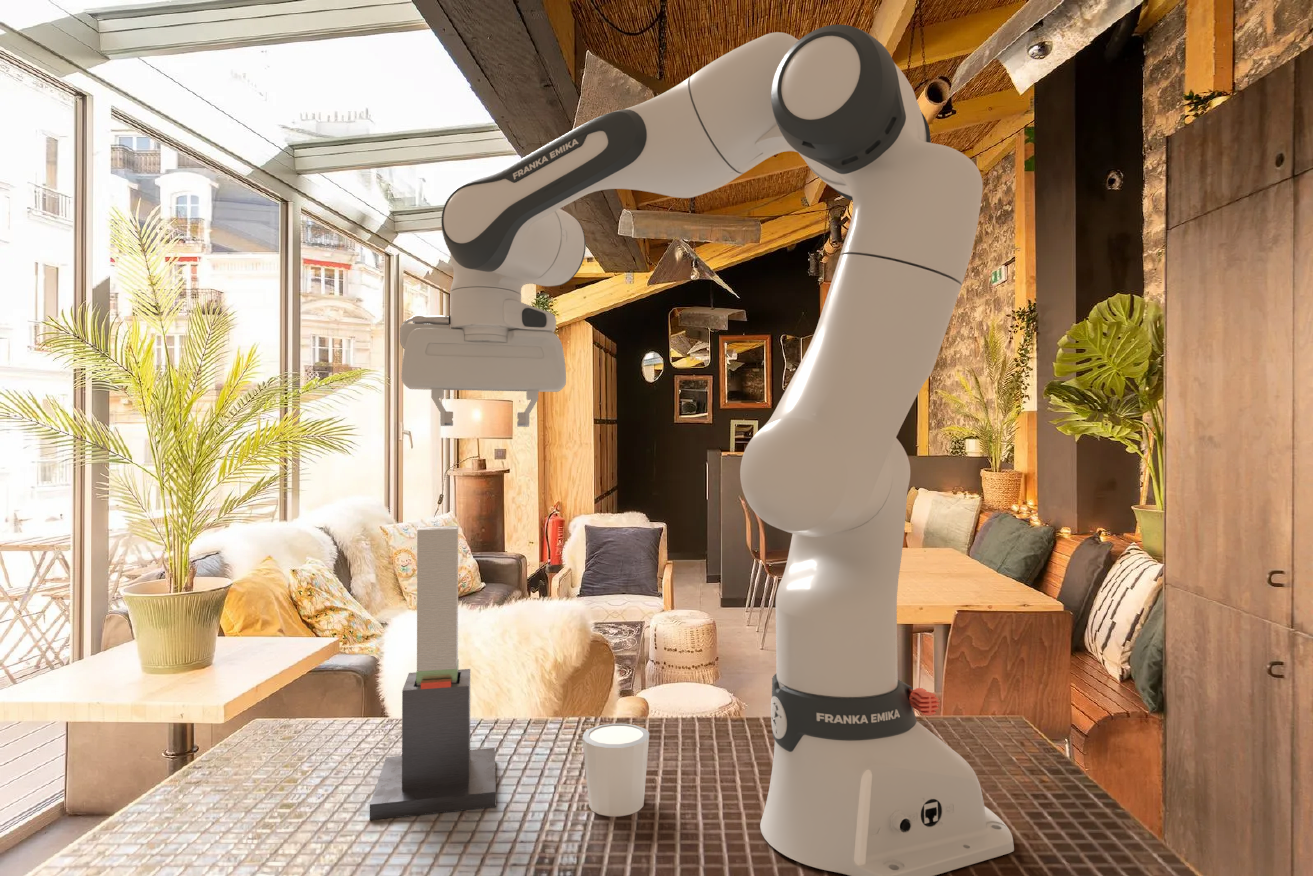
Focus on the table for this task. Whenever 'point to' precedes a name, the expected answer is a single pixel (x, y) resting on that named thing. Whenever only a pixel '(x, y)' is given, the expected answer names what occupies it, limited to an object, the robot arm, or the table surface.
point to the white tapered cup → (616, 768)
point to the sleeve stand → (435, 755)
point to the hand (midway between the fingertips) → (485, 426)
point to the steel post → (437, 604)
